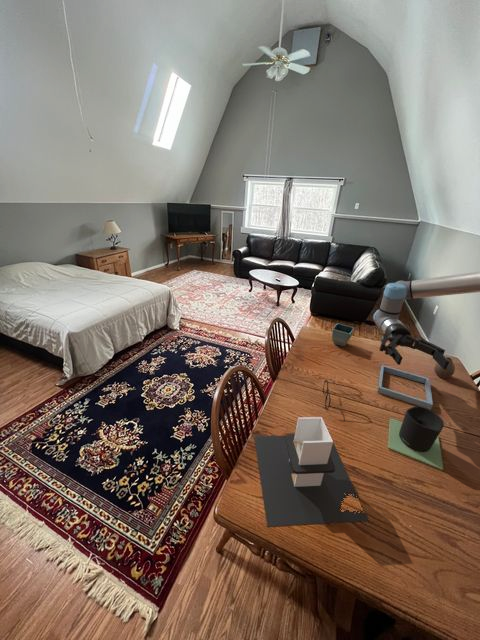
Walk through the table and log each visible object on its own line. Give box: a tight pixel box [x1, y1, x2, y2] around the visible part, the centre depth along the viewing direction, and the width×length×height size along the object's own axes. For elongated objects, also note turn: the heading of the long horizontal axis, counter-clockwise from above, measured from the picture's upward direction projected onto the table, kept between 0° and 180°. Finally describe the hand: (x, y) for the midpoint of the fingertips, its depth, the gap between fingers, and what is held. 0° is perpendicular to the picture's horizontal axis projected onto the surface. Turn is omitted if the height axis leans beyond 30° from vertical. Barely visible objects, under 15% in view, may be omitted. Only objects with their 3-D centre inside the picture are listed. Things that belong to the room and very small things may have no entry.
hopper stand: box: [253, 416, 370, 527], centre depth 70 cm, size 25×24×16 cm
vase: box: [433, 356, 456, 379], centre depth 115 cm, size 7×7×9 cm
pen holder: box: [399, 405, 444, 452], centre depth 82 cm, size 9×9×10 cm
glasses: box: [322, 379, 371, 421], centre depth 98 cm, size 14×15×5 cm
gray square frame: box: [376, 364, 434, 411], centre depth 108 cm, size 18×18×2 cm
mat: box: [387, 417, 444, 471], centre depth 84 cm, size 14×14×1 cm
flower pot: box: [331, 323, 355, 347], centre depth 137 cm, size 9×9×9 cm
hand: (423, 363), depth 83 cm, fingers open, 13 cm apart
